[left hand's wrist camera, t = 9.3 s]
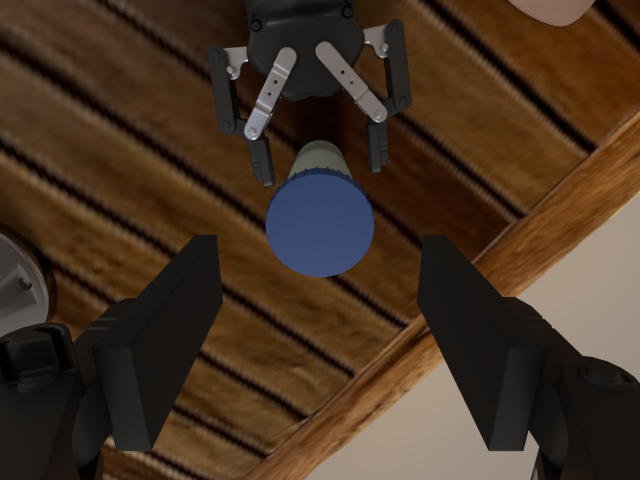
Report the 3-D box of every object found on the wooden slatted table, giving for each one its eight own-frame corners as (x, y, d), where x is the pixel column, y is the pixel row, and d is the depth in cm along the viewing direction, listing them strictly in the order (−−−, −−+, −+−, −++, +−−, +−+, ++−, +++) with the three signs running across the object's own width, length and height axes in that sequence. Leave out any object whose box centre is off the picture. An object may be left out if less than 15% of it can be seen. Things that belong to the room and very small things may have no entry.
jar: (354, 157, 36) (386, 210, 19) (327, 198, 37) (333, 283, 20) (311, 130, 35) (304, 159, 18) (286, 173, 37) (255, 239, 19)
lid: (391, 201, 20) (398, 210, 18) (335, 281, 21) (336, 296, 20) (302, 145, 19) (301, 149, 17) (250, 232, 20) (244, 244, 19)
